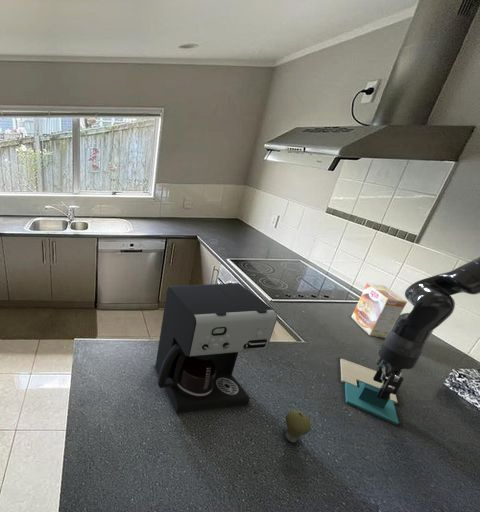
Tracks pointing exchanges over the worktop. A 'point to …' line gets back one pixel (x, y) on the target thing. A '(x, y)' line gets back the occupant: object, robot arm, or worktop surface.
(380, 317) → the coffeecake box
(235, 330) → the coffee maker
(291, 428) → the light bulb
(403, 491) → the worktop surface
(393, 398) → the beige tile
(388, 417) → the teal tile
